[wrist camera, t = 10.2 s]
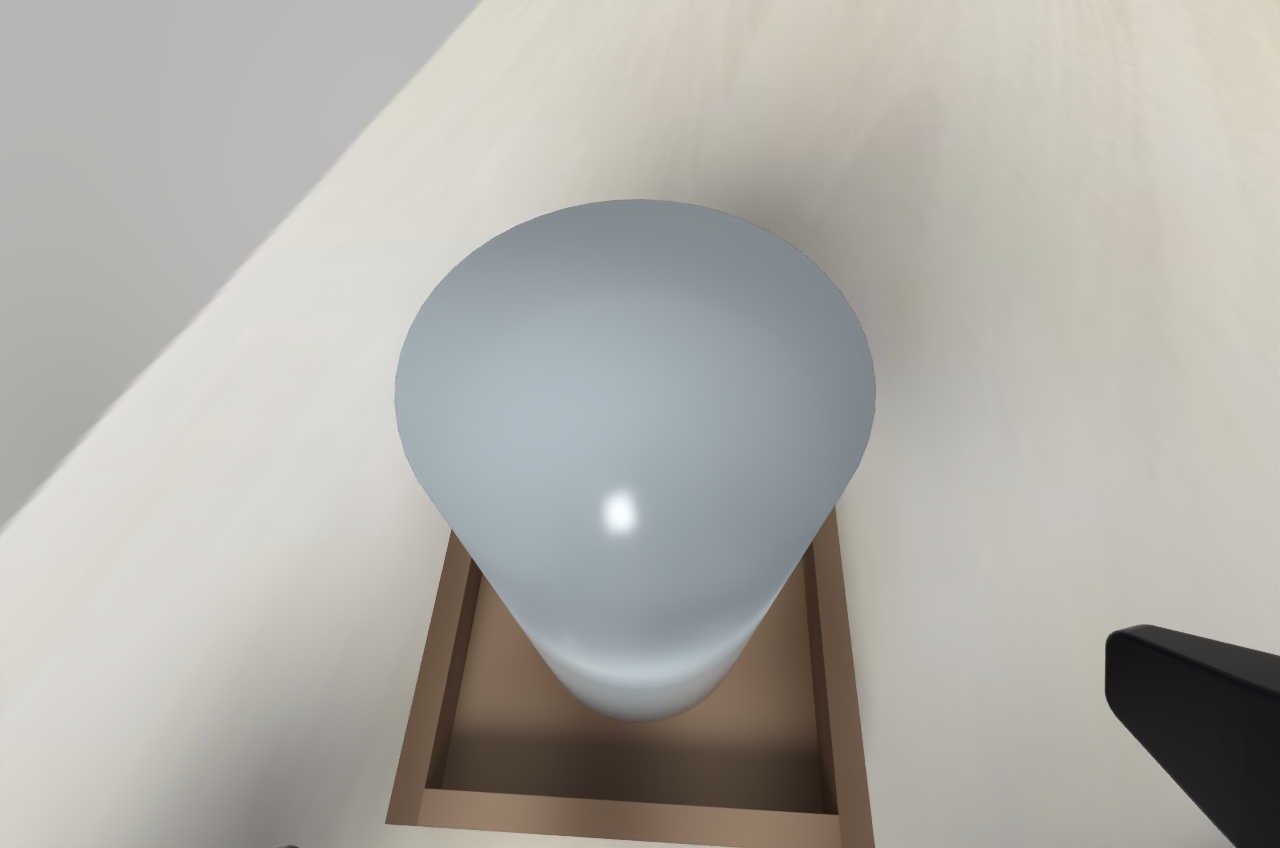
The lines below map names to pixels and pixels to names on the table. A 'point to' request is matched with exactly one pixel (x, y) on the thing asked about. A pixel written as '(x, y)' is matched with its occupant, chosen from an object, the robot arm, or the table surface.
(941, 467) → the table surface
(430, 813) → the tray
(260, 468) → the table surface
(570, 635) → the domed blue cylinder
